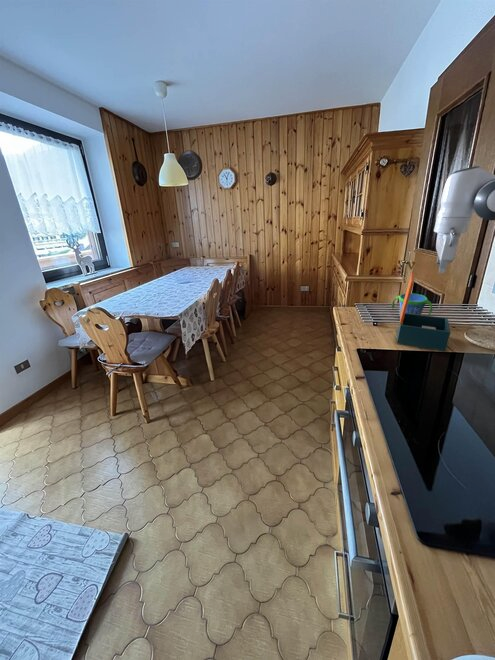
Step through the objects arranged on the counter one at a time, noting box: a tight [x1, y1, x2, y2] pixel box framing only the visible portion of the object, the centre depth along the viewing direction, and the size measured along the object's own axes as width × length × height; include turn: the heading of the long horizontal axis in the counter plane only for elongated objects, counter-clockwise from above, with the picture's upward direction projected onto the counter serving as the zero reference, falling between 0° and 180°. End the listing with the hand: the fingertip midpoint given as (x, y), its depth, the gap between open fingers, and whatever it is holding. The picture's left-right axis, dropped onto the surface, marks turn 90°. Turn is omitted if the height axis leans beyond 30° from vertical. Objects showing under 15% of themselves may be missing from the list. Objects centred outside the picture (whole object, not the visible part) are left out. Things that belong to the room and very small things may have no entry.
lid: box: [399, 271, 415, 324], centre depth 104 cm, size 16×12×1 cm
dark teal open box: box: [396, 313, 452, 352], centre depth 107 cm, size 15×12×8 cm
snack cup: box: [391, 292, 433, 317], centre depth 123 cm, size 16×10×10 cm
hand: (440, 269), depth 96 cm, fingers open, 8 cm apart
